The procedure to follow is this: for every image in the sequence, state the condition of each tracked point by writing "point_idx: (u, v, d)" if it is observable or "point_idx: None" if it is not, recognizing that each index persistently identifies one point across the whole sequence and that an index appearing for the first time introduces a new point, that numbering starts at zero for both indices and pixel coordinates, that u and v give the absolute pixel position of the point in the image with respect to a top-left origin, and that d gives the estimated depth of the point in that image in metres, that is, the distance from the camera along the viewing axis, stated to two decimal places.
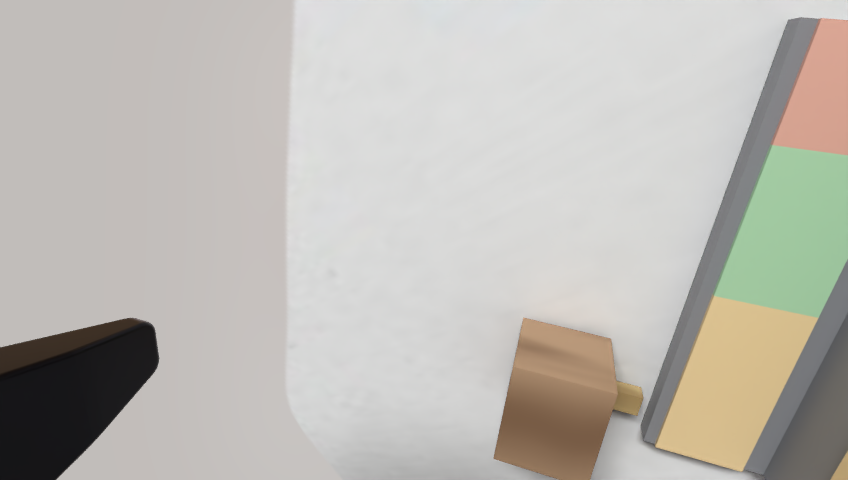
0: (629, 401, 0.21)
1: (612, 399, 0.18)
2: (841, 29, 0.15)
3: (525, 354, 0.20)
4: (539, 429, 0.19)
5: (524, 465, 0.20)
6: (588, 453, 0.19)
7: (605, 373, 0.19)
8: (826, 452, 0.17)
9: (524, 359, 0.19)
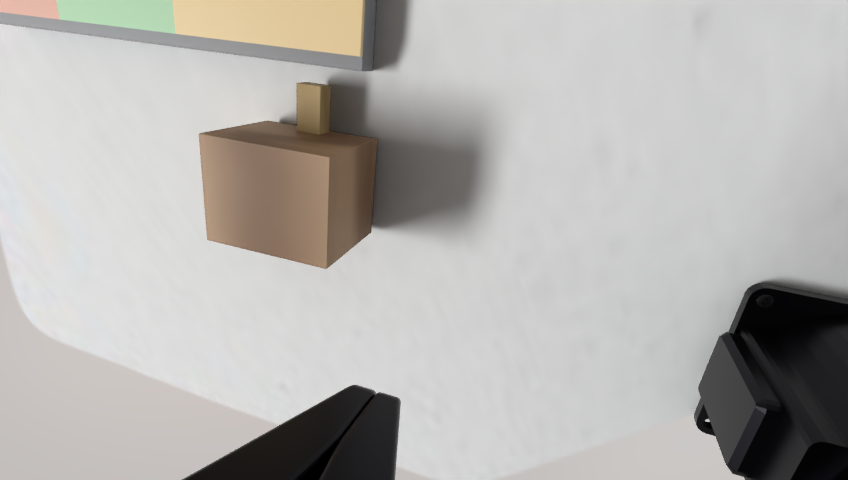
0: (304, 97, 0.18)
1: (205, 138, 0.16)
2: None
3: None
4: (269, 214, 0.16)
5: (322, 232, 0.16)
6: (279, 158, 0.16)
7: None
8: None
9: None
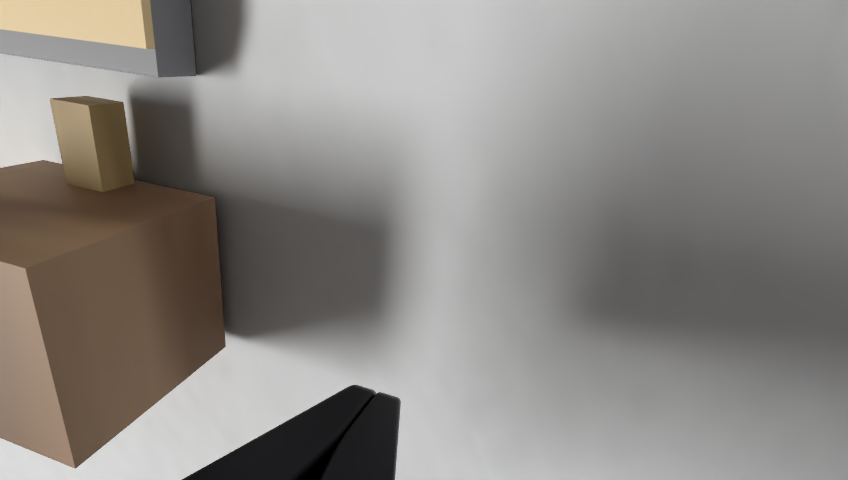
0: (67, 125, 0.10)
1: None
2: None
3: None
4: None
5: (52, 405, 0.08)
6: None
7: None
8: None
9: None
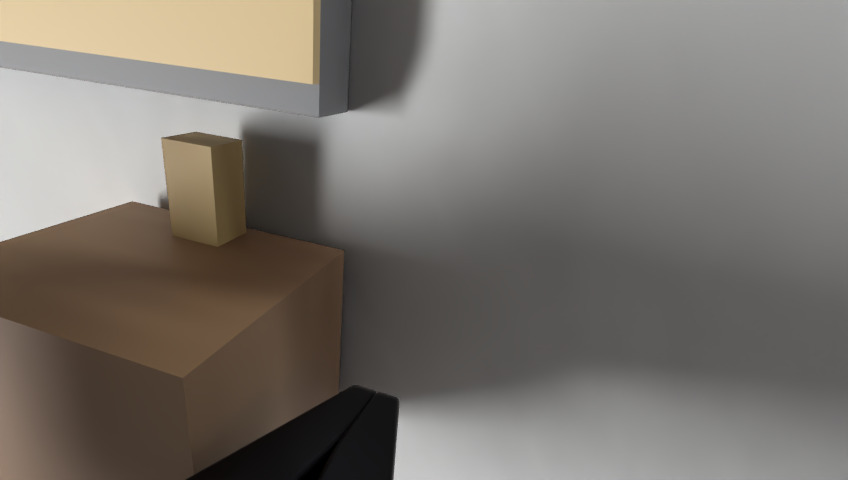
0: (181, 169, 0.08)
1: None
2: None
3: None
4: (67, 471, 0.07)
5: None
6: (64, 360, 0.06)
7: None
8: None
9: None
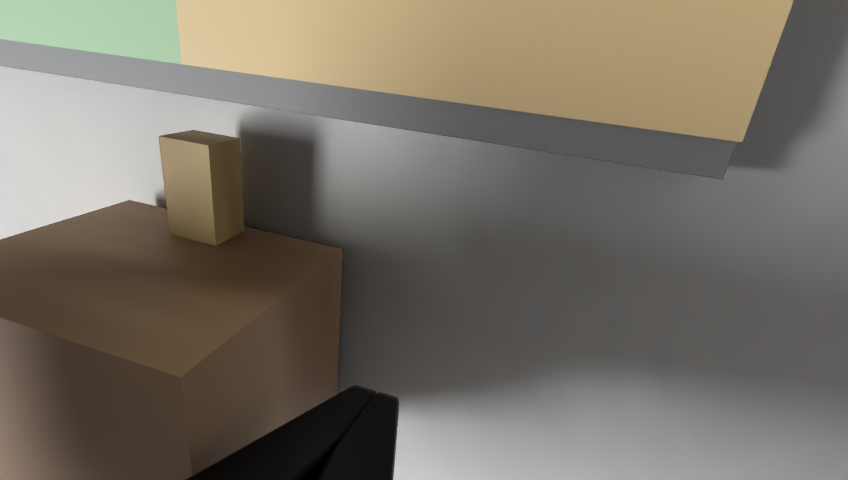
0: (178, 167, 0.08)
1: None
2: None
3: None
4: (65, 471, 0.07)
5: None
6: (61, 359, 0.06)
7: None
8: None
9: None
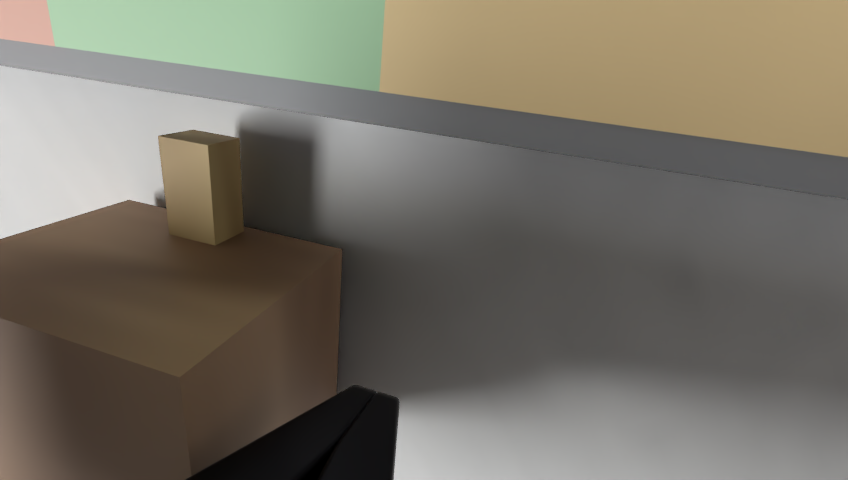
0: (178, 167, 0.08)
1: None
2: None
3: None
4: (64, 471, 0.07)
5: None
6: (59, 360, 0.06)
7: None
8: None
9: None
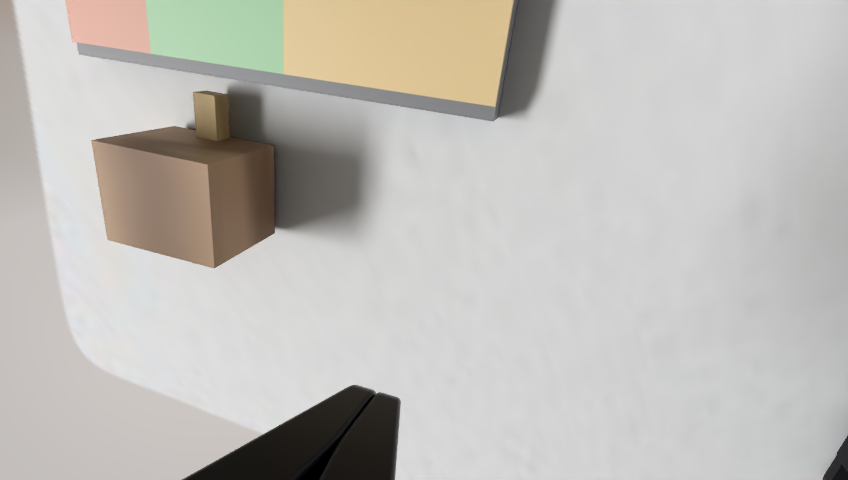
0: (201, 106, 0.19)
1: (97, 144, 0.17)
2: (74, 25, 0.19)
3: None
4: (159, 217, 0.17)
5: (207, 234, 0.17)
6: (164, 165, 0.17)
7: None
8: None
9: None
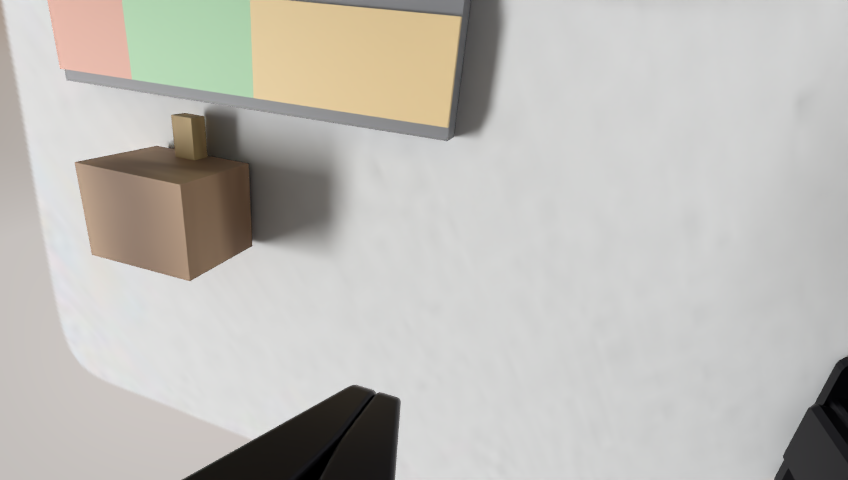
0: (179, 127, 0.20)
1: (80, 166, 0.18)
2: (61, 54, 0.21)
3: None
4: (138, 233, 0.19)
5: (182, 249, 0.18)
6: (141, 185, 0.18)
7: None
8: None
9: None
